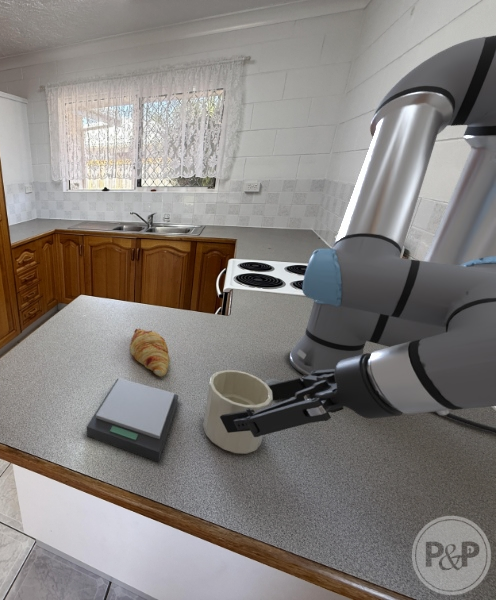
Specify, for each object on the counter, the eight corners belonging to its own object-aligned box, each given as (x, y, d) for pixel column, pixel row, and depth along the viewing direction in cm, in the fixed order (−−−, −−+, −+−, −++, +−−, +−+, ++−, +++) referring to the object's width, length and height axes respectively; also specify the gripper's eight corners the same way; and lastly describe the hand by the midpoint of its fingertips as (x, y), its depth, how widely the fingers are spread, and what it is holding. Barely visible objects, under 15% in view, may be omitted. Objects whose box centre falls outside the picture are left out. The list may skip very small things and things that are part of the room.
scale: (177, 403, 67) (178, 391, 66) (158, 462, 54) (159, 448, 53) (117, 386, 73) (117, 375, 72) (86, 436, 60) (86, 423, 58)
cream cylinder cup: (259, 423, 62) (271, 378, 58) (260, 464, 54) (274, 414, 49) (206, 408, 66) (213, 365, 62) (199, 444, 58) (206, 396, 53)
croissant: (172, 390, 77) (190, 364, 74) (139, 379, 73) (156, 352, 71) (144, 344, 96) (157, 323, 93) (116, 334, 92) (129, 312, 90)
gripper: (366, 465, 30) (214, 463, 47) (439, 375, 42) (297, 400, 60) (320, 390, 32) (190, 415, 49) (402, 326, 45) (276, 364, 62)
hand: (249, 407), depth 55 cm, fingers open, 13 cm apart
